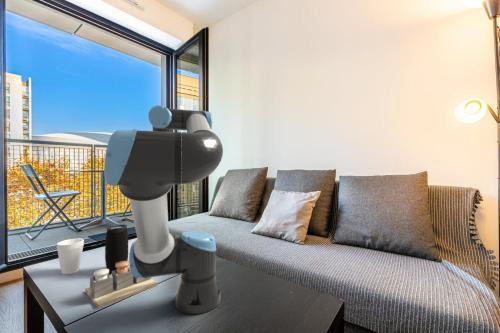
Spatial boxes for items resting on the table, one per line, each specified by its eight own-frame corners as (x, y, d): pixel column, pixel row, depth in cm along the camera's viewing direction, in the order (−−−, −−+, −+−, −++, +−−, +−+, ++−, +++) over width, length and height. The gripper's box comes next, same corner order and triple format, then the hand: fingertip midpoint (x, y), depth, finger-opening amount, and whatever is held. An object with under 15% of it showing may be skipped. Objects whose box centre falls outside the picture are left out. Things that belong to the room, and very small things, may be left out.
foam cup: (57, 278, 97) (57, 246, 97) (56, 270, 104) (56, 241, 104) (84, 271, 104) (85, 241, 104) (82, 264, 111) (82, 237, 111)
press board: (157, 285, 92) (157, 268, 92) (98, 308, 77) (98, 287, 77) (140, 273, 102) (140, 258, 102) (85, 292, 87) (85, 273, 87)
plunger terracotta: (131, 281, 89) (131, 263, 89) (118, 285, 86) (118, 266, 86) (126, 277, 92) (126, 259, 92) (113, 281, 89) (113, 263, 89)
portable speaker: (123, 274, 101) (123, 228, 101) (100, 274, 101) (100, 229, 101) (131, 265, 110) (131, 223, 110) (110, 266, 109) (110, 224, 109)
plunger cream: (110, 290, 84) (110, 271, 84) (95, 295, 81) (96, 275, 81) (106, 285, 87) (106, 267, 87) (91, 290, 84) (92, 271, 84)
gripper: (179, 147, 93) (179, 207, 93) (163, 149, 102) (162, 203, 102) (161, 146, 88) (161, 209, 87) (145, 147, 96) (145, 205, 96)
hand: (161, 206), depth 95 cm, fingers closed
